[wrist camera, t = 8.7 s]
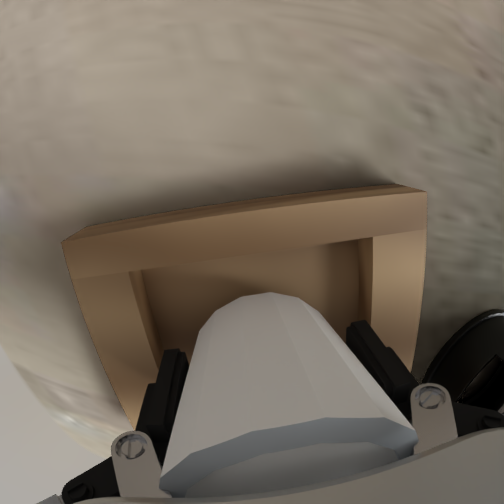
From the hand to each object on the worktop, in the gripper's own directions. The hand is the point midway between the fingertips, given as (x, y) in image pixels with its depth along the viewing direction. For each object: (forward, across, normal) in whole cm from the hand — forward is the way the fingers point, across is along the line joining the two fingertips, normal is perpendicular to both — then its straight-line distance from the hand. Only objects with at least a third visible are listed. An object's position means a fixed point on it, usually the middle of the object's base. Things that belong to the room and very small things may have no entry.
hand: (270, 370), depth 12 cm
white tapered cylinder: (+1, 0, 0) cm, 1 cm away
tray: (+3, 0, 0) cm, 3 cm away
